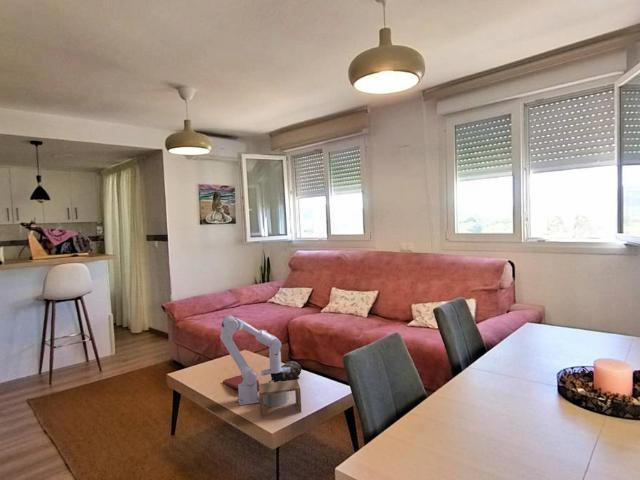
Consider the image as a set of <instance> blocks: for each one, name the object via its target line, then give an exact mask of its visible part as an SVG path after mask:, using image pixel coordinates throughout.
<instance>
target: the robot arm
mask: <svg viewBox="0 0 640 480" xmlns="http://www.w3.org/2000/svg"><path fill="white" fill-rule="evenodd" d="M220 325H221V326H220V327H221V329H220V331H221V332H220V340H221V342H222V344H223V345H224V346H225V349H227V352H228V353H229V354H230V356H231V358H232V359H233V361H234V363H235V365H236V366H237V368H238V369H239V371H240V373H241V376H242V377H243V381H242V383H241V384H238V389H237V390H238V395H237V398H238V405H239V406H242V405H243V406H244V405H249V404H257V403H260V397H259V393H258V392H257V380H258V375H257V373H255V371H254V368H252V367H251V366H250V365H249V364H248V363H247V361H246V359H245V357H244V356H243V354H242V353H241V351H240V350H239V348H238V346H237V345H236V343H235V341H234V340H233V337H234V334H235V333H236V331H238V332H239V331H244V332H246V333H249V334H250V335H252V336H255V340H256V341H257V342H260V343H261V344H262V345H264V346H266V347H269V348H268V351H269V353H268V354H269V355H268V357H269V368H268V369H264V370H261V376H262V377H263V376H265V375H266V376H267V375H270V377H271V380H272V379H273V380H272V382H278V381H280V378H281V376H282V374H281V373H283V372H290V367H281V366H282V356H281V355H282V353H281V349H282V342H281V340H280V339H279V338H278V337H276V336H275V335H274V334H270V333H269V332H268V330H266V329H259V330H258V329H257V328H256V327H254V326H252V325H250V324H249V323H247V322H246V321H244V320H242V319H241V318H238V317H235V316H234V315H231V314H228V315H226V316H224V317H223V319H222V320H221V324H220ZM275 373H276V374H275Z"/></svg>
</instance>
